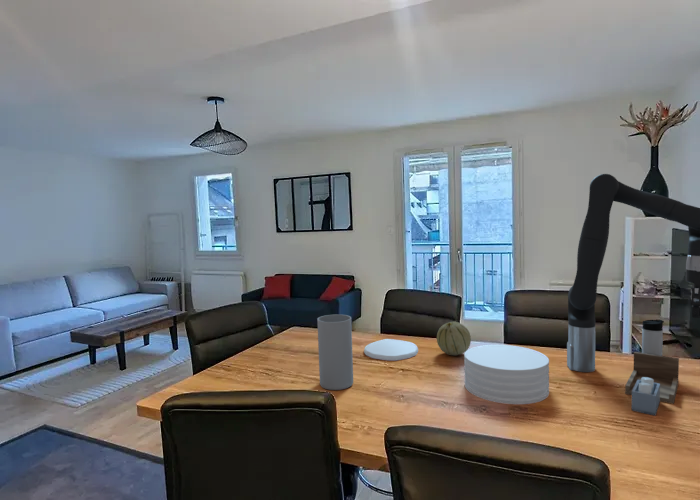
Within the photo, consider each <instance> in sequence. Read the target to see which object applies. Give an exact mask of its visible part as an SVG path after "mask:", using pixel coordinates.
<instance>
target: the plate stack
mask: <svg viewBox="0 0 700 500" xmlns="http://www.w3.org/2000/svg"><path fill="white" fill-rule="evenodd" d="M463 357H464V360H463V361H464V362H463V363H464V387H465V389H466V391H468V392H469V393H470V394H472V395H474V396H475V397H477V398H480V399H483V400H484V401H485V400H486V401H490V402H493V403H499V404H506V405H529V404H535V403H539V402H542V401H544V400H545V399H547V398H548V397H549V395H550V374H549V373H550V359H549V357H548V356H547V355H546V354H544V353H542V352H540V351H538V350H535V349H532V348H528V347H525V346H524V347H523V346H518V345H510V344H484V345H477V346H473V347H469V348H468V350H467V351H466V352H464V353H463Z"/></svg>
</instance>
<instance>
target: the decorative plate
mask: <svg viewBox="0 0 700 500" xmlns="http://www.w3.org/2000/svg"><path fill="white" fill-rule="evenodd" d="M363 353H364V355H366V356H367V357H369V358H371V359H374V360H375V359H376V360H381V361H401V360H406V359H410V358H413V357H416V356H417V354H418V353H419V347H418V346H417V344H415V343H413V342H412V341H408V340H407V341H406V340H402V339H393V338H384V339H380V340H376V341H374V342H370V343H368V344H367V345H366V346H364V349H363Z"/></svg>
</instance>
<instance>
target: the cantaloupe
mask: <svg viewBox="0 0 700 500" xmlns="http://www.w3.org/2000/svg"><path fill="white" fill-rule="evenodd" d="M471 336H472V335H471V332H470V331H469V330H468V327H466V326H465V325H464V324H462V323H461V322H458V321H448V322H446V323H444V324H442V325H441V326H440V327H439V329H438V331H437V334H436V343H437V346H438V347H439V349H440V350H441V351H442V352H443V353H445V354H446V355H448V356H460V355H462V354H464V353H465V352H466V351H467V350H468V349H470V347H471V342H472V341H471V340H472V337H471Z"/></svg>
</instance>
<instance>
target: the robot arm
mask: <svg viewBox="0 0 700 500" xmlns="http://www.w3.org/2000/svg"><path fill="white" fill-rule="evenodd" d="M588 193H589V194H588V196H589V197H588V205H587V211H586V216H585V219H584V222H583V224H582V228H581V232H580V236H579V239H578V247H577V256H576V263H577V264H576V274H575V277H574V282H573V285H572V286H571V287H569V290H568V294H567V306H568V307H567V317H568V318H567V320H568V321H567V322H568V335H567V336H568V341H567V342H566V365H567V368H569V370H570V371H576V372H579V373H592V372H595V370H596V313H595V312H596V311H595V310H596V309H595V308H596V306H595V305H596V302H597V289H598V280H599V276H600V271H601V268H602V266H603V262H604V259H605V255H606V251H607V247H608V240H609V236H610V235H609V234H610V218H611V217H610V216H611V215H610V214H611V211H612V207H613V203H614V202H616V203H619V204H624V205H627V206H630V207H632V208H636V209H638V210H640V211H643V212H646V213H647V214H650V215H653V216H656V217H658V218H662V219H664V220H667V221H671V222H675V223H678V224H681V225H683V226H686V227H687V228H688V229H687V230H688V243H687V257H686V262H685V282H687V283H689V284H690V283H691V284H693V286H692V287H691V288H690V293H691V295H690V299H691V301H690V305H691V307H692V308H691V317H692V318H693V319H700V207H698V206H695V205H690V204H686V203H684V202H682V201H679V200H677V199H673V198H670V197H667V196H664V195H661V194H658V193H653V192H649V191H644V190H641V189H637V188H634V187H631V186H629V185H627V184H624V183H622V182H621V181H619V180H617V178H616V177H615V176H613V175H612V174H608V173H600V174H598V175H597V176H594V178H592V179H591V181H590V184H589V192H588Z"/></svg>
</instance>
